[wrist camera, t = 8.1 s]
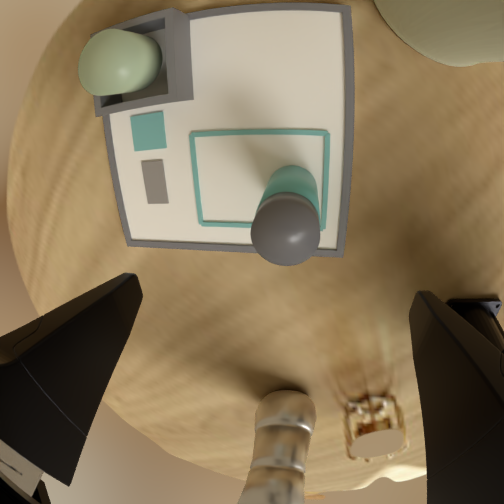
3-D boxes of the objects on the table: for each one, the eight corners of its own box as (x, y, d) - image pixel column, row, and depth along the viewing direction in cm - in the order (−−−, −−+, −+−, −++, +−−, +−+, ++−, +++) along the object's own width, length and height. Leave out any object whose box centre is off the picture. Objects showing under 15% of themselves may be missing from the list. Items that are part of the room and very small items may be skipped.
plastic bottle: (329, 394, 28) (314, 571, 11) (294, 416, 32) (270, 565, 15) (279, 374, 28) (243, 569, 11) (248, 399, 31) (209, 558, 14)
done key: (161, 28, 12) (133, 19, 9) (164, 86, 14) (136, 87, 11) (109, 44, 12) (77, 41, 10) (112, 97, 14) (80, 102, 12)
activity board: (348, 9, 12) (356, -7, 9) (342, 252, 20) (346, 277, 17) (103, 40, 14) (76, 38, 12) (131, 241, 22) (112, 261, 20)
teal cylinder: (318, 166, 16) (323, 203, 11) (316, 213, 18) (318, 268, 13) (267, 164, 17) (247, 200, 12) (268, 211, 18) (250, 264, 13)
